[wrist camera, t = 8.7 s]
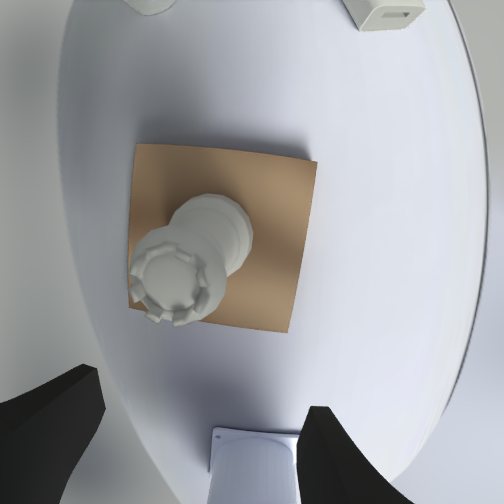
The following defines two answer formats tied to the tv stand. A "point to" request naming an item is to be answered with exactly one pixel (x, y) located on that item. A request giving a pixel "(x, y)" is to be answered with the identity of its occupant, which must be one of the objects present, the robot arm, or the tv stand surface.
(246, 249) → the rook chess piece
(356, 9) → the usb wall charger
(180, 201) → the walnut plinth
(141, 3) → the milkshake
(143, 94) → the tv stand surface
